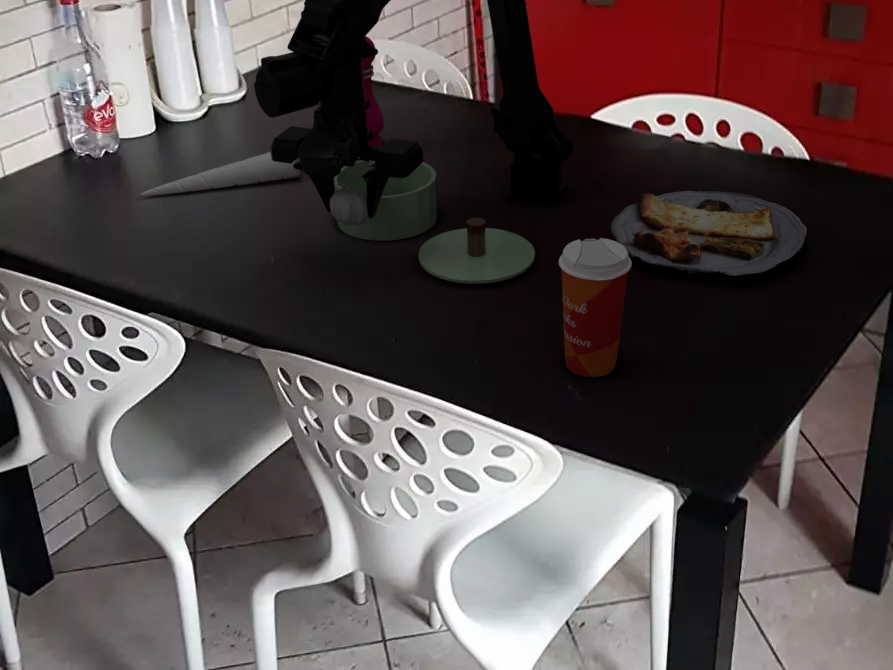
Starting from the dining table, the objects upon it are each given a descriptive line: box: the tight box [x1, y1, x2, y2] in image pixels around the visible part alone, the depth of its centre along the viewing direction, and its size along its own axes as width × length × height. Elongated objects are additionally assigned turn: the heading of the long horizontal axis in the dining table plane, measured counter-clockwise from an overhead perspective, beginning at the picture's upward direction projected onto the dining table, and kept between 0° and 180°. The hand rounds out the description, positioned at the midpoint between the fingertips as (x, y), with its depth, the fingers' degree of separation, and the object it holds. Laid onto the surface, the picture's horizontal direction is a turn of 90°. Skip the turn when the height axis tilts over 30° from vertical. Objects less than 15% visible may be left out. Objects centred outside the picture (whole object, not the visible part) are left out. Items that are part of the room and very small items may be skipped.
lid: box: [417, 217, 536, 285], centre depth 151 cm, size 15×15×6 cm
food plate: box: [609, 190, 808, 277], centre depth 154 cm, size 25×23×4 cm
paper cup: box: [558, 237, 633, 378], centre depth 126 cm, size 8×8×14 cm
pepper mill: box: [363, 35, 385, 147], centre depth 182 cm, size 7×7×20 cm
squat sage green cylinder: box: [334, 160, 439, 242], centre depth 162 cm, size 14×14×6 cm
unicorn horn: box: [140, 151, 301, 196], centre depth 175 cm, size 5×24×5 cm, turn 103°
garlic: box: [330, 182, 368, 225], centre depth 149 cm, size 6×5×5 cm
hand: (351, 213), depth 149 cm, fingers closed on garlic, 5 cm apart
